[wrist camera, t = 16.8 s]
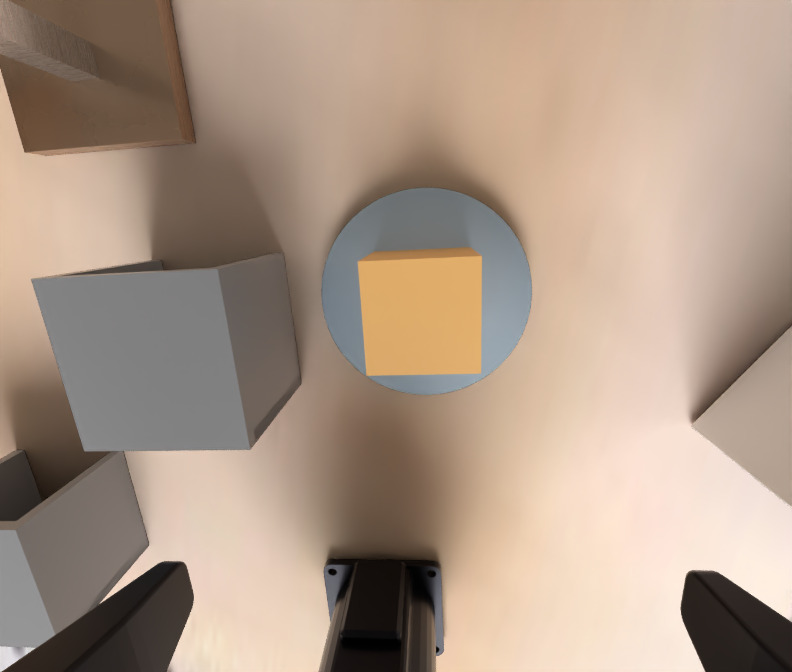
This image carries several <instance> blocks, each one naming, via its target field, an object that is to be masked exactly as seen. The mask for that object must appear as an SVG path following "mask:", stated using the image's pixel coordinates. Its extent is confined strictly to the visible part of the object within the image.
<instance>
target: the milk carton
mask: <svg viewBox="0 0 792 672" xmlns="http://www.w3.org/2000/svg"><path fill="white" fill-rule="evenodd" d="M691 427H692V428H693V429H694V430H695V431H696V432H698V433H699V434H700V435H701V436H703V437H704V438H705V439H706V440H708V441H709V442H710V443H711V444H712V445H714V446H715V447H716V448H717V449H719V450H720V451H721V452H722V453H724V454H725V455H726V456H727V457H729V458H730V459H731V460H732V461H733V462H735V463H736V464H737V465H738V466H740V467H741V468H742V469H743V470H745V471H746V472H747V473H748V474H749V475H751V476H752V477H753V478H754V479H756V480H757V481H758V482H759V483H761V484H762V485H763V486H764V487H766V488H767V489H768V490H769V491H770V492H772V493H773V494H774V495H775V496H777V497H778V498H779V499H780V500H782V501H783V502H784V503H785V504H787V505H788V506H789V507H790V508H791V509H792V326H791V327H790V328H789V329H788V330H787V331H786V332H785V333H784V334H783V335H782V336H781V337H780V338H779V339H778V340H777V341H776V342H775V343H774V344H773V345H772V346H771V347H770V348H769V349H768V350H767V351H766V352H765V353H764V354H763V355H761V356H760V357H759V358H758V359H757V360H756V361H755V362H754V363H753V364H752V365H751V366H750V367H749V368H748V369H747V370H746V371H745V372H744V373H743V374H742V375H741V376H740V377H739V378H738V379H737V380H736V381H735V382H734V383H733V384H732V385H731V386H730V387H729V388H728V389H727V390H726V391H725V392H724V393H723V394H722V395H721V396H720V397H719V398H718V399H717V400H716V401H715V402H714V403H713V404H712V405H711V406H710V407H709V408H708V409H707V410H706V411H705V412H704V413H703V414H702V415H701V416H700V417H699V418H698V419H697V420H696V421H695V422H694V423H693V424H692V425H691Z"/></svg>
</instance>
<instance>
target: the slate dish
mask: <svg viewBox="0 0 792 672" xmlns="http://www.w3.org/2000/svg"><path fill="white" fill-rule="evenodd" d="M459 247H471V248H472V249H473V250H475V251H476V252H477V253H479V254H480V255H481V256H482V327H481V374H434V375H380V376H367V377H368V378H370V379H371V380H373V381H375V382H377V383H378V384H380V385H383V386H385V387H388V388H390V389H393V390H397V391H400V392H404V393H410V394H419V395H433V394H443V393H448V392H452V391H456V390H459V389H462V388H465V387H467V386H470V385H472V384H474V383H476V382H478V381H479V380H481V379H483V378H484V377H486V376H487V375H489V374H490V373H491V372H493V371H494V370H495V369H496V368H497V367H499V366H500V365H501V364H502V362H503V361H504V360H505V359H506V358H507V357H508V356H509V355H510V353H511V352H512V350H513V349H514V348H515V346H516V345H517V343H518V341H519V339H520V337H521V335H522V334H523V331H524V328H525V326H526V323H527V320H528V316H529V312H530V308H531V298H532V283H531V275H530V269H529V265H528V262H527V258H526V255H525V252H524V250H523V248H522V246H521V244H520V242H519V240H518V238H517V237H516V235H515V234H514V232H513V231H512V229H511V228H510V227H509V226H508V225H507V223H506V222H505V221H504V220H503V219H502V218H501V217H500V216H499V215H498V214H497V213H495V212H494V211H493V210H492V209H491V208H489V207H488V206H486V205H485V204H483V203H481V202H480V201H478V200H476V199H474V198H472V197H470V196H467V195H465V194H463V193H459V192H456V191H452V190H448V189H441V188H414V189H407V190H402V191H399V192H395V193H392V194H389V195H387V196H385V197H383V198H380V199H378V200H376V201H375V202H373V203H371V204H370V205H368V206H366V207H365V208H364V209H363V210H361V211H360V212H359V213H358V214H356V215H355V216H354V217H353V218H352V219H351V220H350V221H349V222H348V224H347V225H346V226H345V227H344V228H343V230H342V231H341V233H340V234H339V235H338V237H337V238H336V240H335V242H334V244H333V246H332V248H331V250H330V252H329V255H328V258H327V260H326V263H325V268H324V272H323V278H322V290H321V291H322V305H323V311H324V316H325V320H326V323H327V326H328V329H329V331H330V333H331V335H332V338H333V340H334V341H335V343H336V345H337V346H338V348H339V349H340V351H341V352H342V354H343V355H344V356H345V357H346V359H347V360H348V361H349V362H350V363H351V364H352V365H353V366H354V367H355V368H356V369H357V370H359V371H360V372H361V373H363V374H364V375H365V376H366V363H365V350H364V337H363V324H362V311H361V298H360V285H359V272H358V261H359V260H361V259H363V258H364V257H366V256H367V255H369V254H371V253H372V252H374V251H395V250H417V249H438V248H459Z"/></svg>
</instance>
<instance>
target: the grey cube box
mask: <svg viewBox="0 0 792 672" xmlns="http://www.w3.org/2000/svg"><path fill="white" fill-rule="evenodd" d="M31 281H32V284H33V287H34V290H35V293H36V297H37V300H38V303H39V306H40V310H41V313H42V316H43V319H44V323H45V326H46V329H47V332H48V336H49V339H50V342H51V345H52V349H53V352H54V355H55V358H56V362H57V365H58V368H59V371H60V375H61V378H62V381H63V384H64V387H65V391H66V394H67V397H68V400H69V404H70V407H71V410H72V413H73V417H74V420H75V423H76V426H77V430H78V433H79V436H80V439H81V443H82V446H83V449H84V451H171V450H250V449H251V448H252V447H253V445H254V444H255V443H256V442H257V440H258V439H259V438H260V436H261V435H262V434H263V432H264V431H265V430H266V429H267V427H268V426H269V425H270V423H271V422H272V421H273V420H274V418H275V417H276V416H277V414H278V413H279V412H280V410H281V409H282V408H283V407H284V405H285V404H286V403H287V401H288V400H289V399H290V398H291V396H292V395H293V394H294V392H295V391H296V390H297V388H298V387H299V386H300V385H301V378H300V371H299V363H298V356H297V348H296V341H295V334H294V326H293V319H292V311H291V304H290V297H289V289H288V282H287V274H286V267H285V260H284V253H272V254H268V255H264V256H259V257H255V258H251V259H247V260H242V261H238V262H234V263H229V264H225V265H221V266H217V267H212V268H200V269H181V270H163V266H162V261H161V260H150V261H144V262H137V263H131V264H124V265H118V266H112V267H105V268H99V269H92V270H86V271H80V272H73V273H67V274H60V275H54V276H48V277H41V278H35V279H31Z"/></svg>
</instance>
